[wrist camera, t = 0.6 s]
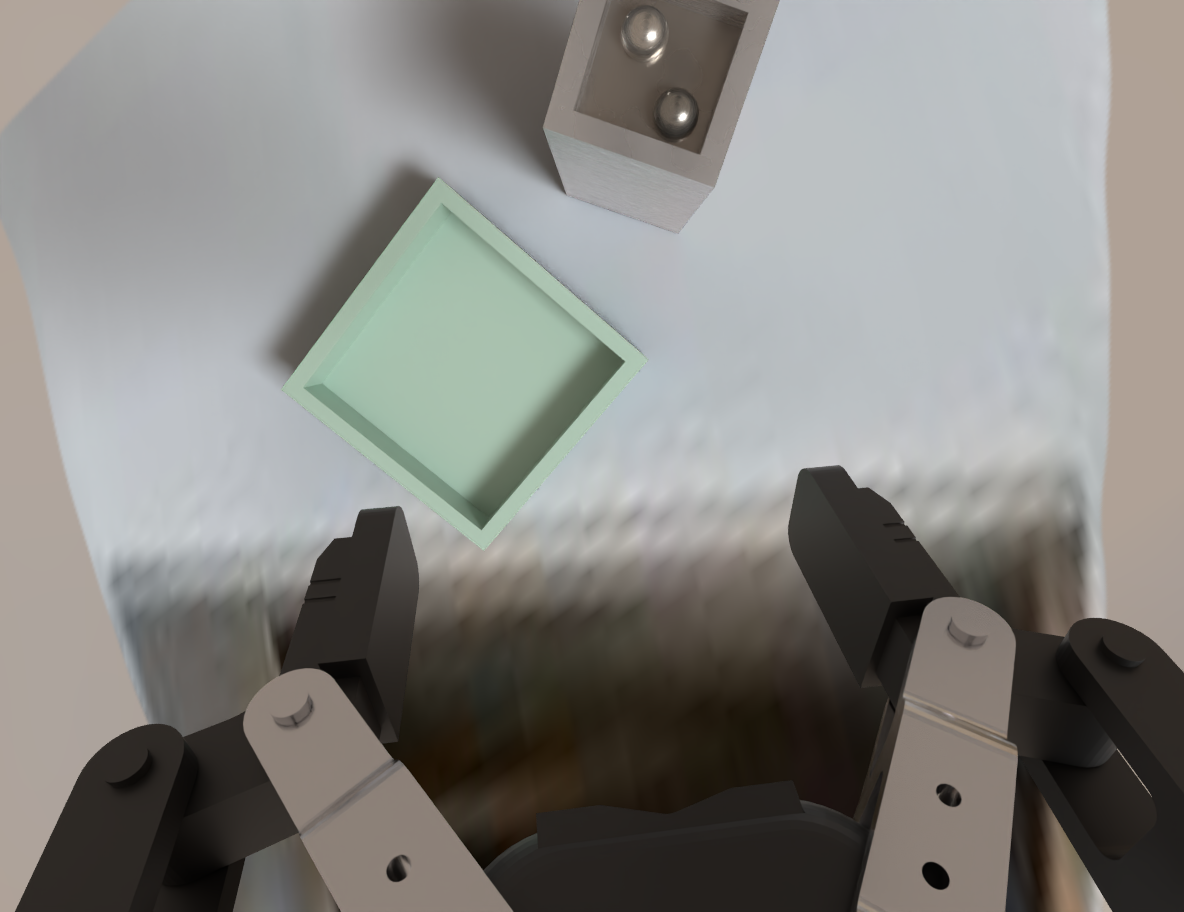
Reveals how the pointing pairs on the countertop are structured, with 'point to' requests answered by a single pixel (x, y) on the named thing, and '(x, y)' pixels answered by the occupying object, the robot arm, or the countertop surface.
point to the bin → (463, 367)
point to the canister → (652, 101)
